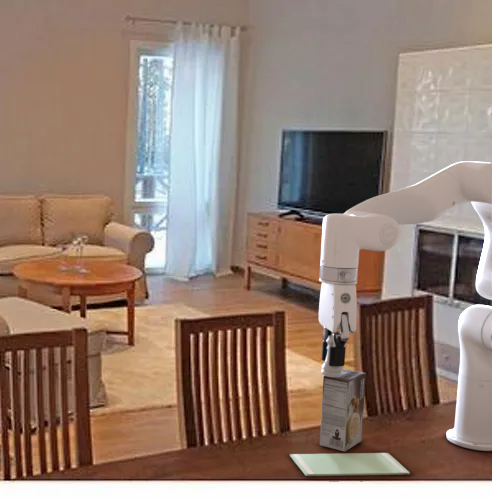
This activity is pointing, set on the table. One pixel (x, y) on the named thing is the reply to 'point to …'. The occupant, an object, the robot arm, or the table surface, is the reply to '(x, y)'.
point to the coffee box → (342, 410)
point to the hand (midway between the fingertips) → (332, 362)
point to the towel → (348, 464)
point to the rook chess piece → (331, 370)
